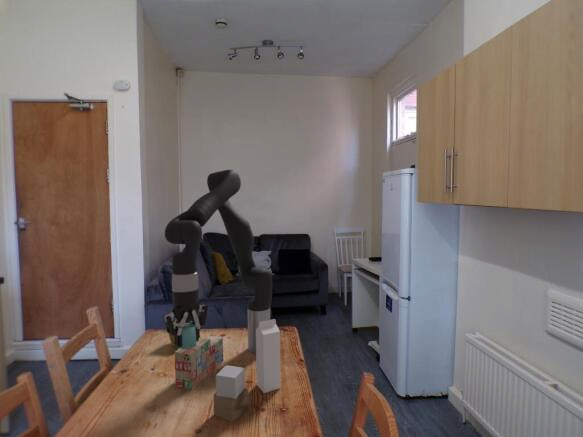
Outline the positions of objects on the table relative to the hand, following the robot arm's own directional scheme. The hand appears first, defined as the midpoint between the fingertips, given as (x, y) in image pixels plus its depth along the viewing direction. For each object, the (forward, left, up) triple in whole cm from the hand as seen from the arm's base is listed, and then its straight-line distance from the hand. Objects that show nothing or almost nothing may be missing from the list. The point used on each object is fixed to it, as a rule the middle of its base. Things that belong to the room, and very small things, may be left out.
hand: (187, 343), depth 102 cm
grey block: (-6, +13, -13) cm, 19 cm away
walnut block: (-6, +13, -19) cm, 23 cm away
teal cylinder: (0, 0, -1) cm, 1 cm away
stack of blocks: (-13, -13, -19) cm, 26 cm away
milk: (-22, +11, -19) cm, 31 cm away
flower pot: (-22, -41, -19) cm, 50 cm away
